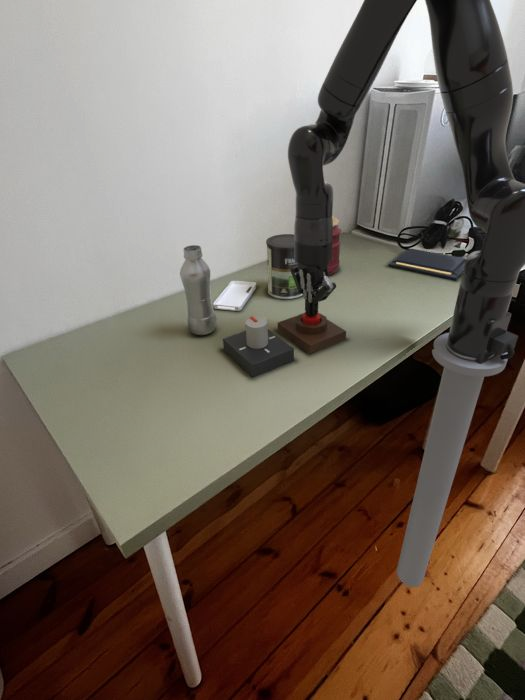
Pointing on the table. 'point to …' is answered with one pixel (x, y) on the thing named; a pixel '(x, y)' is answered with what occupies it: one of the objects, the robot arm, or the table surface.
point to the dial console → (258, 353)
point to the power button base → (311, 333)
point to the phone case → (234, 296)
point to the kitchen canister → (335, 248)
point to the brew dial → (257, 332)
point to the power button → (311, 319)
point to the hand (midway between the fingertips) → (311, 315)
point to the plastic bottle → (197, 291)
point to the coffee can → (281, 267)
